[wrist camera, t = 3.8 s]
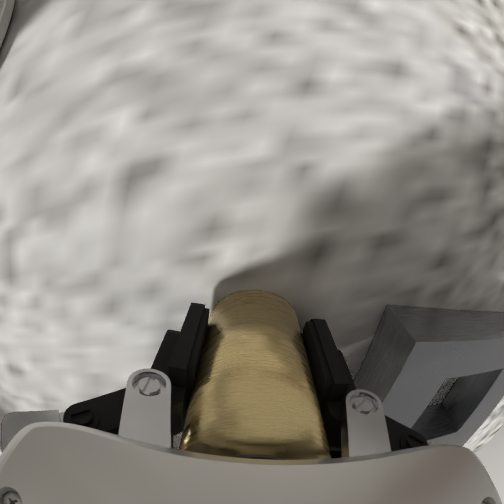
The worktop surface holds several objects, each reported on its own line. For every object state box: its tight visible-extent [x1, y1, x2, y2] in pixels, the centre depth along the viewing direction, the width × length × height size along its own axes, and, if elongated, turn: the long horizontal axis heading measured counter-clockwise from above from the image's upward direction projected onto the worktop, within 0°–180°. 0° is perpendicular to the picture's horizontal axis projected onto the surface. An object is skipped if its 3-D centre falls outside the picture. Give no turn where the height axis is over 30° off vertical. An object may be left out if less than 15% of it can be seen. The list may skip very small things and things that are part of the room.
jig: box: [354, 305, 504, 447], centre depth 12 cm, size 20×12×7 cm, turn 171°
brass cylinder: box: [179, 290, 331, 460], centre depth 9 cm, size 4×4×7 cm
